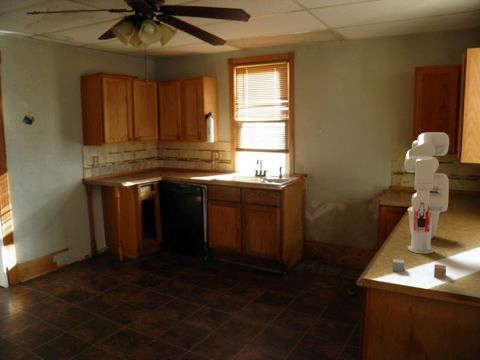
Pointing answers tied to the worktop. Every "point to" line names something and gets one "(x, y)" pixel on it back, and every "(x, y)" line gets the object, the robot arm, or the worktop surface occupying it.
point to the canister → (433, 216)
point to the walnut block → (440, 271)
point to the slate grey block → (398, 265)
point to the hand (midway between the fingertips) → (421, 224)
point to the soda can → (427, 222)
